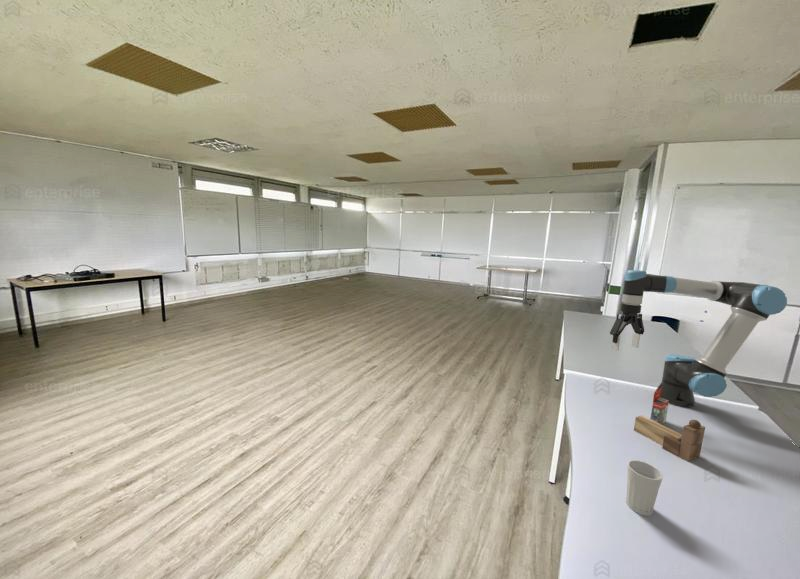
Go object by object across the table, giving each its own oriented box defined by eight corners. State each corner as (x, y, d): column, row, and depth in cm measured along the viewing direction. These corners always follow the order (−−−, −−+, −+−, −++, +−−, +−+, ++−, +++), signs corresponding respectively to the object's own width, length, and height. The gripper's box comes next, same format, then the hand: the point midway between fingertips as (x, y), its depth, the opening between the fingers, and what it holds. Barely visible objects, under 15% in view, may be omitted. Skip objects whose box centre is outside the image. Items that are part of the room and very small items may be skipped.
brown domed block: (675, 443, 123) (681, 409, 121) (700, 457, 116) (707, 420, 114) (662, 448, 120) (668, 412, 118) (687, 461, 113) (694, 424, 111)
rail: (640, 428, 133) (642, 415, 132) (683, 451, 119) (686, 436, 118) (633, 430, 132) (635, 417, 131) (677, 453, 117) (680, 438, 116)
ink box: (666, 421, 139) (671, 390, 137) (659, 426, 135) (664, 394, 133) (656, 417, 142) (661, 387, 140) (649, 422, 138) (654, 391, 136)
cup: (615, 496, 96) (621, 460, 94) (640, 495, 97) (645, 459, 95) (637, 518, 88) (643, 480, 87) (663, 517, 89) (670, 479, 87)
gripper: (640, 301, 153) (634, 343, 156) (604, 303, 144) (598, 347, 147) (657, 304, 146) (651, 348, 149) (621, 306, 137) (614, 353, 140)
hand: (625, 348), depth 148 cm, fingers open, 13 cm apart
